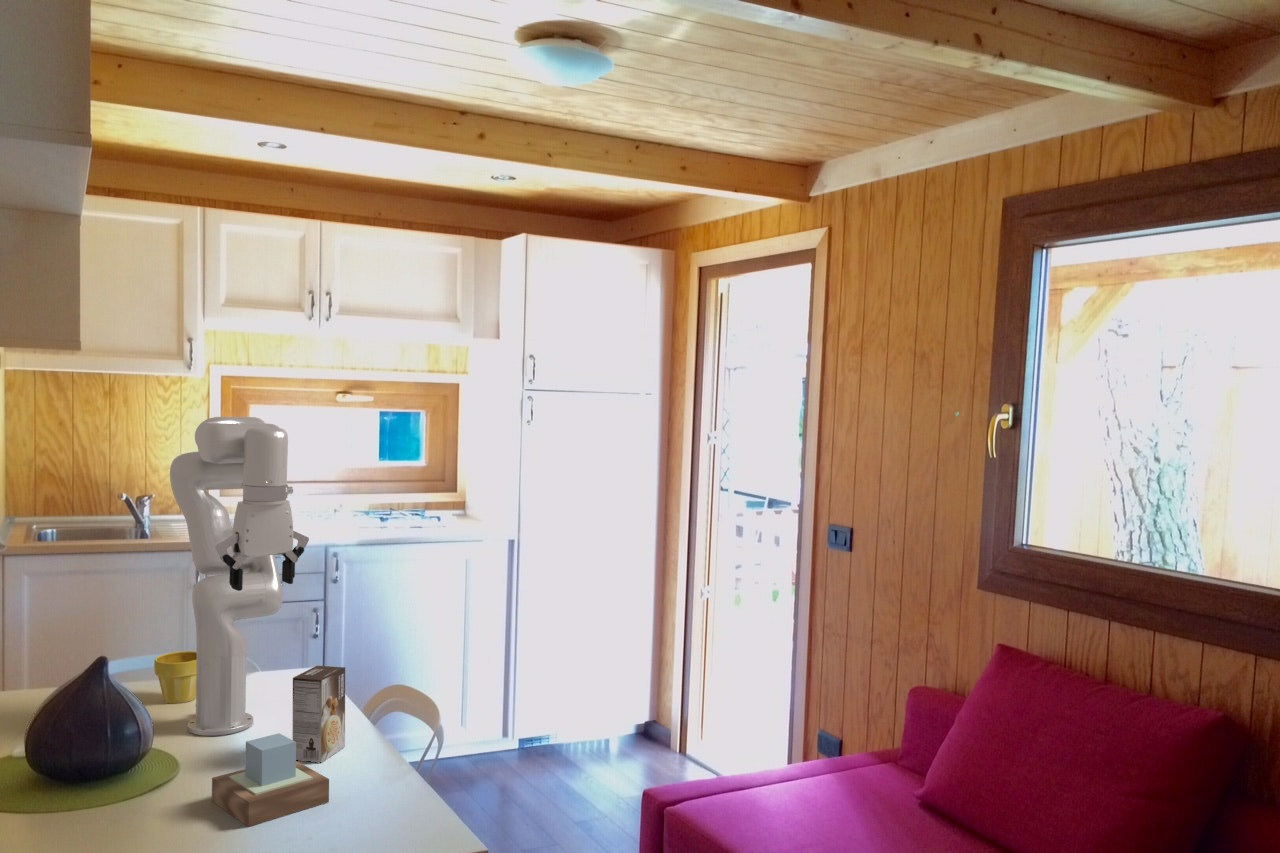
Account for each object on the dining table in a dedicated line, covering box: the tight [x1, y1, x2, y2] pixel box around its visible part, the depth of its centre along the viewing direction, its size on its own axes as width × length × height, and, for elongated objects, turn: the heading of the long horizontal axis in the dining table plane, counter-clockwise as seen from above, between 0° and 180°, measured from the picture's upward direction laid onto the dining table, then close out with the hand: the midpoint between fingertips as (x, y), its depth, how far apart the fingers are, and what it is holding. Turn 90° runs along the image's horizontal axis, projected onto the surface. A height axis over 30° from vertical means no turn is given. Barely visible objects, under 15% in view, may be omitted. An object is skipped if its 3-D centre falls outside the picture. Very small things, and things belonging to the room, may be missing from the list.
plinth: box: [211, 761, 330, 828], centre depth 167 cm, size 14×14×4 cm
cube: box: [244, 732, 296, 786], centre depth 167 cm, size 6×6×6 cm
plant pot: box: [153, 650, 197, 705], centre depth 221 cm, size 10×10×10 cm
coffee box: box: [292, 665, 346, 763], centre depth 189 cm, size 9×6×16 cm
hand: (262, 585), depth 181 cm, fingers open, 9 cm apart
